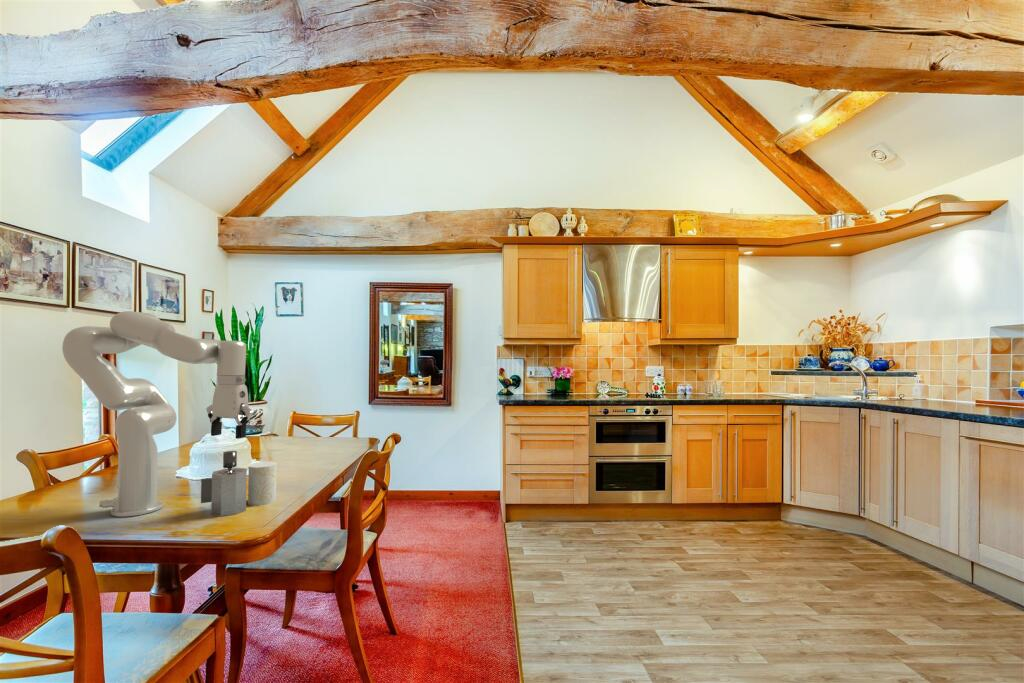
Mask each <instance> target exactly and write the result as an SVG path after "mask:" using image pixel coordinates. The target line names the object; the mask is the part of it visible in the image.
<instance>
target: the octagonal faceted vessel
mask: <svg viewBox="0 0 1024 683" xmlns="http://www.w3.org/2000/svg"><path fill="white" fill-rule="evenodd" d="M247 474H248V472H247V468H244V467H233V468H232V472H231V473H228V468H223V469H222V468H221V469H219V470H215V471H213V472H212V473H211V477H206V478H201V480H200V482H201V484H200V504H207V503H211V506H210V508H211V511H210V512H211V513H210V514H211V516H216V517H226V516H233V515H234V516H235V515H237V514H240V513H241V514H242V513H243V512H245V511H246V510H247V480H248V477H247Z"/></svg>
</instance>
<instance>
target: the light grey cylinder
mask: <svg viewBox="0 0 1024 683" xmlns="http://www.w3.org/2000/svg"><path fill="white" fill-rule="evenodd" d="M277 467H278V466H277V462H276V461H260V462H254V463H251V464H248V473H247V474H248V477H247V480H248V484H247V489H248V490H247V492H248V493H247V503H248V504H247V505H250V506H264V505H265V506H267V505H270V504H273V503H275V502H276V501H277V472H278V471H277Z"/></svg>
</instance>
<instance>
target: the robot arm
mask: <svg viewBox="0 0 1024 683" xmlns="http://www.w3.org/2000/svg"><path fill="white" fill-rule="evenodd" d="M141 345H143V346H146V347H149V348H152V349H155V350H156V351H157V352H159V353H160V354H162V355H163V356H165V357H168V358H171V359H174V360H177V361H180V362H183V363H186V364H192V365H201V364H206V365H207V364H216V365H217V366H216V385H215V386H214V391H213V397H212V404H210V405H209V406H207V407H206V408H205V409H206V413H207V417H208V418H209V423H211V424H210V427H211V429H210V436H211V437H215V436H216V437H217V436H220V435H222V429H223V428H222V426H223V425H222V424H223V422H222V421H221V420H222V419H233V420H235V422H236V424H237V425H235V439H237V440H239V439H244V438H246V437H247V425H248V424H249V422H250V421H251V419H252V416H253V414H254V411H253V410H252V409H251V408H250V407H249V392H248V387H247V385H246V384H245V382H246V381H247V380H246V365H247V364H246V360H247V359H246V358H247V344H246V343H245V342H244V341H241V340H219V339H211V338H209V339H208V338H196V337H195V338H194V337H190V336H186V335H183V334H181V333H178V332H176V329H175V327H174V325H172V324H171V323H168V322H166V321H163V320H161V319H160V318H159V317H158V316H157V315H154V314H153V313H149V312H140V311H131V310H127V311H126V310H125V311H121V312H118V313H116V314H115V315H113V316H112V317H111V319H110V321H109V326H108V327H106V326H92V325H91V326H80V327H76V328H73V329H71V330H70V331H69V332H67V334H66V335H65V336H64V338H63V340H62V348H61V350H62V355H63V358H64V359H65V361H66V363H67V364H68V366H69V367H70V368H71V369H72V371H74V372H75V373H76V375H78V376H79V377H80V379H81V380H83V382H84V383H85V384H86V386H87V387H88V388H89V390H90V391H91V392H92V394H93V395H94V396H95V397H96V399H97V400H98V401H99V402H100V403H101V405H102V406H103V407H104V408H106V409H107V410H110V411H122V410H123V411H122V412H120V413H119V414H118V416H117V417H116V419H115V422H114V430H115V435H116V438H117V439H116V440H117V448H118V454H117V457H118V458H117V459H118V462H117V463H118V467H117V470H118V471H117V497H114V498H113V499H104V500H103V499H102V500H100V501H99V503H98V504H99V508H101V509H107V508H112V509H111V510H110V515H111V516H113V517H118V518H121V517H123V518H125V517H134V516H140V515H146V514H149V513H153V512H156V511H158V510H160V509H161V508H162V507H163V505H164V504H163V501H161V500H158V499H157V498H158V495H157V494H158V458H159V457H158V446H157V443H156V440H155V439H154V436H155V435H159V434H163V433H165V432H168V431H170V430H172V429H173V428H174V427H175V425H176V423H177V413H176V410H175V409H174V407H173V406H172V405H171V404H170V402H169V401H168V400H167V398H166V397H165V396H164V395H163V393H162V392H161V391H160V390H159V389H158V387H157V386H156V385H155V384H154V383H152V381H149V380H147V379H145V378H134V377H133V378H127V377H126V376H124V375H123V374H122V373H121V372H120V371H119V370H118V368H117V367H116V366H115V365H114V364H113V362H111V361H110V360H108V359H106V358H105V357H103V356H102V355H107V354H108V355H115V354H122V353H125V352H128V351H130V350H133V349H134V348H137V347H139V346H141Z"/></svg>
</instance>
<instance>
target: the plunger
mask: <svg viewBox="0 0 1024 683" xmlns="http://www.w3.org/2000/svg"><path fill="white" fill-rule="evenodd" d="M237 455H238V451H237V450H227V451H226V450H225V451H224V452H223V455H222V468H223V469H228V473H231V472H232V468H237V467H238V466H237V465H238V463H237V462H238V456H237Z"/></svg>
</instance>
